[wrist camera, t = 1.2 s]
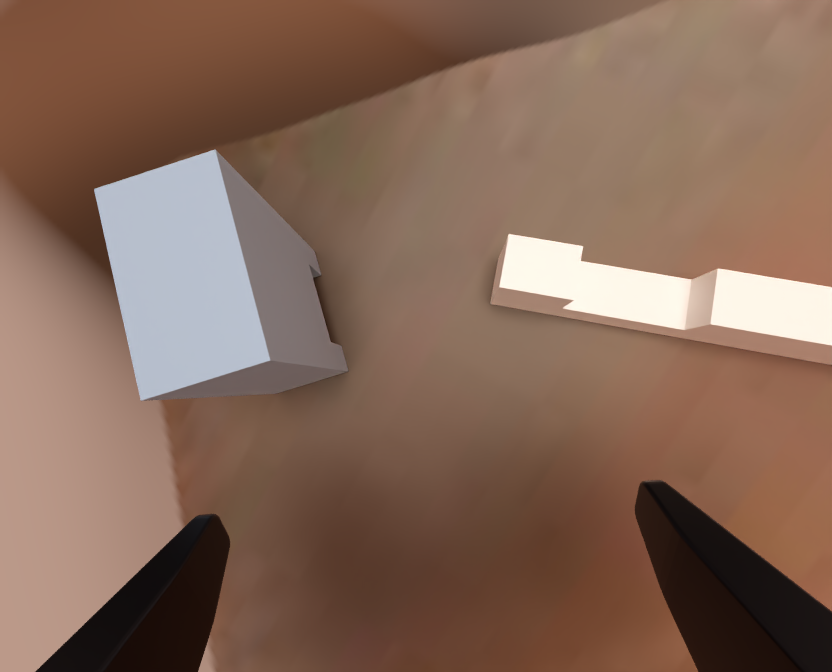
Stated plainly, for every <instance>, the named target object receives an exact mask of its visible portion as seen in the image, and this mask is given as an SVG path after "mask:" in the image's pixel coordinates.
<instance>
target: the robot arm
mask: <svg viewBox="0 0 832 672" xmlns="http://www.w3.org/2000/svg"><path fill="white" fill-rule="evenodd" d="M635 515H636V519H637V522H638V525H639V528H640V530H641V533H642V536H643V539H644V542H645V545H646V548H647V551H648V554H649V556H650V559H651V562H652V565H653V568H654V571H655V574H656V577H657V580H658V582H659V585H660V588H661V590H662V593H663V596H664V598H665V600H666V602H667V605H668V607H669V609H670V611H671V613H672V616H673V618H674V620H675V622H676V624H677V626H678V629H679V631H680V633H681V635H682V637H683V639H684V641H685V644H686V646H687V648H688V650H689V652H690V654H691V656H692V659H693V661H694V663H695V665H696V667H697V669H698V672H832V611H831V610H829V609H828V608H827V607H825V606H824V605H823V604H822V603H820V602H819V601H818V600H816V599H815V598H814V597H813V596H811V595H810V594H809V593H807V592H806V591H805V590H804V589H802V588H801V587H800V586H798V585H797V584H796V583H795V582H793V581H792V580H791V579H789V578H788V577H787V576H786V575H784V574H783V573H782V572H780V571H779V570H778V569H776V568H775V567H774V566H773V565H771V564H770V563H769V562H767V561H766V560H765V559H764V558H762V557H761V556H760V555H758V554H757V553H756V552H755V551H753V550H752V549H751V548H749V547H748V546H747V545H746V544H744V543H743V542H742V541H740V540H739V539H738V538H737V537H735V536H734V535H733V534H731V533H730V532H729V531H728V530H726V529H725V528H724V527H722V526H721V525H720V524H719V523H717V522H716V521H715V520H713V519H712V518H711V517H710V516H708V515H707V514H706V513H704V512H703V511H702V510H701V509H699V508H698V507H697V506H695V505H694V504H693V503H692V502H690V501H689V500H688V499H686V498H685V497H684V496H683V495H681V494H680V493H679V492H677V491H676V490H675V489H674V488H672V487H671V486H670V485H668V484H667V483H666V482H664V481H662V480H650V481H642V482H641V483H640V485H639V490H638V494H637V499H636V504H635ZM229 548H230V539H229V536H228V534H227V532H226V530H225V528H224V526H223V524H222V522H221V520H220V518H219V516H218V515H216V514H205V515H198V516H196V517H195V518H193V519H192V520H191V521H190V522H189V523H188V524H187V525H186V526H185V527H184V528H183V529H182V530H181V531H180V532H179V533H178V534H177V535H176V536H175V537H174V538H173V539H172V540H171V541H170V542H169V543H168V544H167V545H166V546H164V547H163V548H162V549H161V550H160V551H159V552H158V553H157V554H156V555H155V556H154V557H153V558H152V559H151V560H150V561H149V562H148V563H147V564H146V565H145V566H144V567H143V568H142V569H141V570H140V571H139V572H138V573H137V574H136V575H135V576H134V577H133V578H132V579H130V580H129V581H128V582H127V583H126V585H124V586H123V587H122V588H121V589H120V590H119V591H118V592H117V593H116V594H115V595H114V596H113V597H112V598H111V599H110V600H109V601H108V602H107V603H106V604H105V605H104V606H103V607H102V608H101V609H100V610H98V611H97V612H96V613H95V614H94V615H93V616H92V617H91V618H90V619H89V620H88V621H87V622H86V623H85V624H84V625H83V626H82V627H81V628H80V629H79V630H78V631H77V632H76V633H75V634H74V635H73V636H72V637H71V638H70V639H69V640H68V641H67V642H65V644H63V645H62V646H61V647H60V648H59V649H58V650H57V651H56V652H55V653H54V654H53V655H52V656H51V657H50V658H49V659H48V660H47V661H46V662H45V663H44V664H43V665H42V666H41V667H40V668H39V669H38V670H37V671H36V672H198V670H199V667H200V663H201V660H202V657H203V654H204V651H205V648H206V645H207V642H208V638H209V635H210V632H211V629H212V625H213V622H214V618H215V613H216V609H217V605H218V600H219V595H220V591H221V586H222V581H223V577H224V572H225V567H226V563H227V558H228V553H229Z"/></svg>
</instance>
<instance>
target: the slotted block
mask: <svg viewBox="0 0 832 672" xmlns="http://www.w3.org/2000/svg"><path fill="white" fill-rule="evenodd" d="M94 191H95V195H96V200H97V204H98V209H99V213H100V218H101V222H102V227H103V231H104V236H105V240H106V245H107V250H108V254H109V259H110V263H111V268H112V272H113V277H114V281H115V286H116V290H117V295H118V299H119V304H120V308H121V313H122V318H123V322H124V327H125V331H126V336H127V340H128V345H129V349H130V354H131V358H132V363H133V367H134V372H135V376H136V381H137V385H138V389H139V394H140V399H141V401H145V400H164V399H184V398H203V397H222V396H242V395H261V394H277V393H280V392H284V391H287V390H290V389H293V388H296V387H300V386H303V385H306V384H309V383H313V382H316V381H319V380H322V379H326V378H329V377H332V376H335V375H339V374H342V373H345V372H348V367H347V364H346V360H345V357H344V353H343V350H342V346H340V345H338V344H335V343H332V342H331V341H330V337H329V334H328V330H327V327H326V323H325V320H324V316H323V312H322V309H321V305H320V302H319V298H318V295H317V291H316V288H315V284H314V280H313V278H314V277H317V276H321V272H320V269H319V265H318V261H317V258H316V254H315V251H314V250H313V249H312V248H311V247H310V246H309V245H308V244H307V243H306V242H305V241H304V240H303V239H302V238H301V237H300V236H299V235H298V234H297V233H296V232H295V231H294V230H293V229H292V228H291V227H290V226H289V224H288V223H287V222H286V221H285V220H284V219H283V218H282V217H281V216H280V215H279V214H278V213H277V212H276V211H275V210H274V209H273V208H272V207H271V206H270V205H269V204H268V203H267V202H266V201H265V200H264V199H263V198H262V197H261V196H260V195H259V194H258V193H257V192H256V191H255V190H254V189H253V188H252V187H251V186H250V185H249V184H248V183H247V182H246V180H245V179H244V178H243V177H242V176H241V175H240V174H239V173H238V172H237V171H236V170H235V169H234V168H233V167H232V166H231V165H230V164H229V163H228V162H227V161H226V160H225V159H224V158H223V157H222V156H221V155H220V154H219V153H218V152H217V151H216V150H212V151H209V152H206V153H203V154H200V155H197V156H194V157H191V158H188V159H185V160H182V161H179V162H176V163H173V164H169V165H166V166H163V167H160V168H157V169H154V170H151V171H148V172H145V173H142V174H139V175H136V176H133V177H130V178H127V179H124V180H121V181H118V182H115V183H112V184H109V185H105V186H102V187H99V188H96V189H94Z"/></svg>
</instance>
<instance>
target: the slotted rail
mask: <svg viewBox="0 0 832 672" xmlns="http://www.w3.org/2000/svg"><path fill="white" fill-rule="evenodd" d="M582 249H583V246H578V245H572V244H566V243H560V242H554V241H548V240H542V239H536V238H530V237H524V236H518V235H512V234H509V235H508V237H507V240H506V242H505V244H504V247H503V249H502V252H501V254H500V256H499V259H498V263H497V269H496V274H495V280H494V285H493V291H492V296H491V302H490V304H493V305H499V306H505V307H510V308H516V309H521V310H527V311H533V312H538V313H544V314H549V315H555V316H560V317H566V318H572V319H577V320H583V321H588V322H594V323H600V324H605V325H611V326H616V327H622V328H627V329H633V330H639V331H644V332H650V333H655V334H661V335H666V336H672V337H678V338H683V339H689V340H694V341H700V342H706V343H711V344H717V345H722V346H728V347H733V348H739V349H745V350H750V351H756V352H761V353H767V354H773V355H778V356H784V357H789V358H795V359H800V360H806V361H812V362H817V363H823V364H828V365H832V287H827V286H821V285H814V284H808V283H802V282H796V281H790V280H784V279H778V278H772V277H766V276H760V275H754V274H748V273H742V272H736V271H730V270H724V269H716V270H713V271H711V272H709V273H706V274H704V275H702V276H699V277H697V278H694V279H692V280H690V279H684V278H678V277H673V276H667V275H661V274H655V273H649V272H643V271H637V270H631V269H625V268H619V267H613V266H607V265H601V264H595V263H589V262H583V261H581V255H582Z"/></svg>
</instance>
